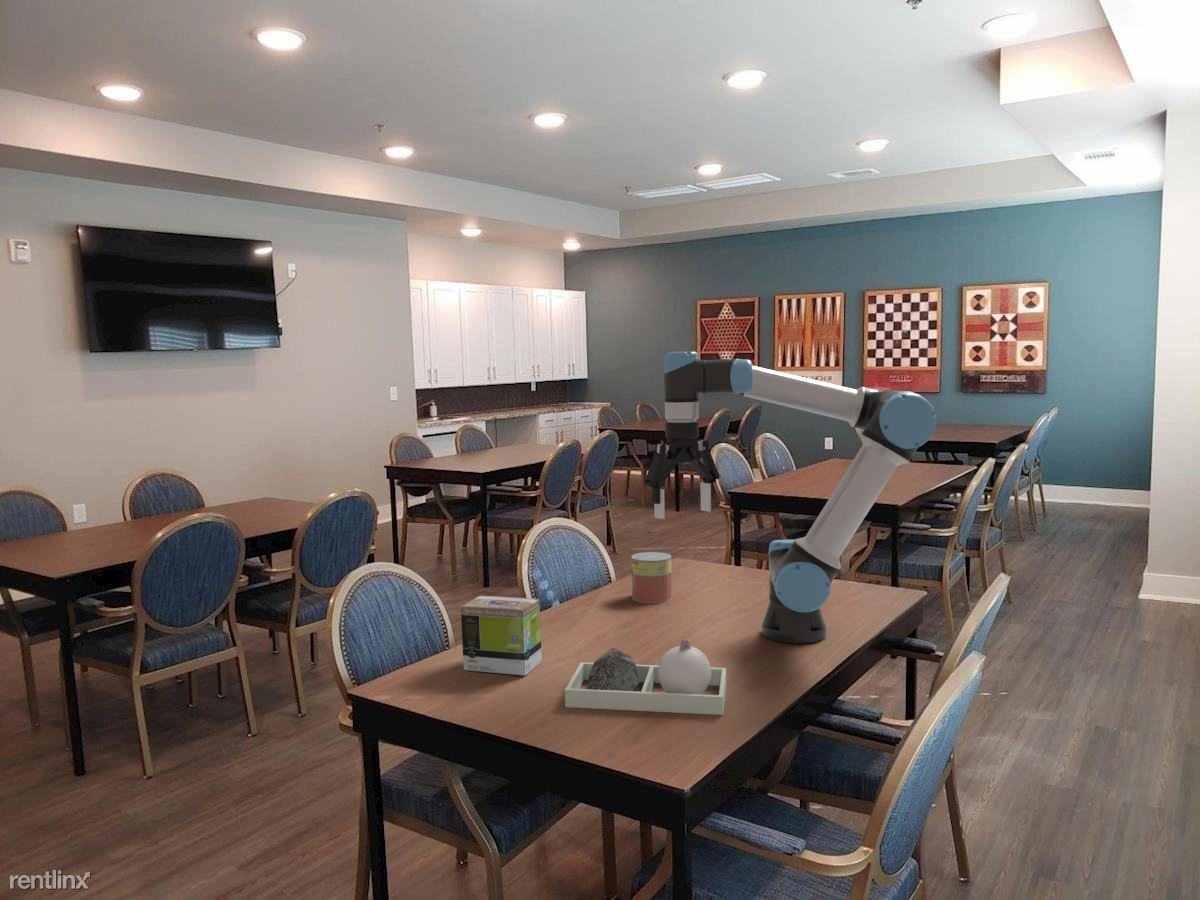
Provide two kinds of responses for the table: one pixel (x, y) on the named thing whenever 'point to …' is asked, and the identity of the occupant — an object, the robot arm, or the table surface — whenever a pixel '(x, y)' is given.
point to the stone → (614, 672)
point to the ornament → (684, 670)
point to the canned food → (651, 577)
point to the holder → (645, 694)
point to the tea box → (501, 635)
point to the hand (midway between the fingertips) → (683, 514)
